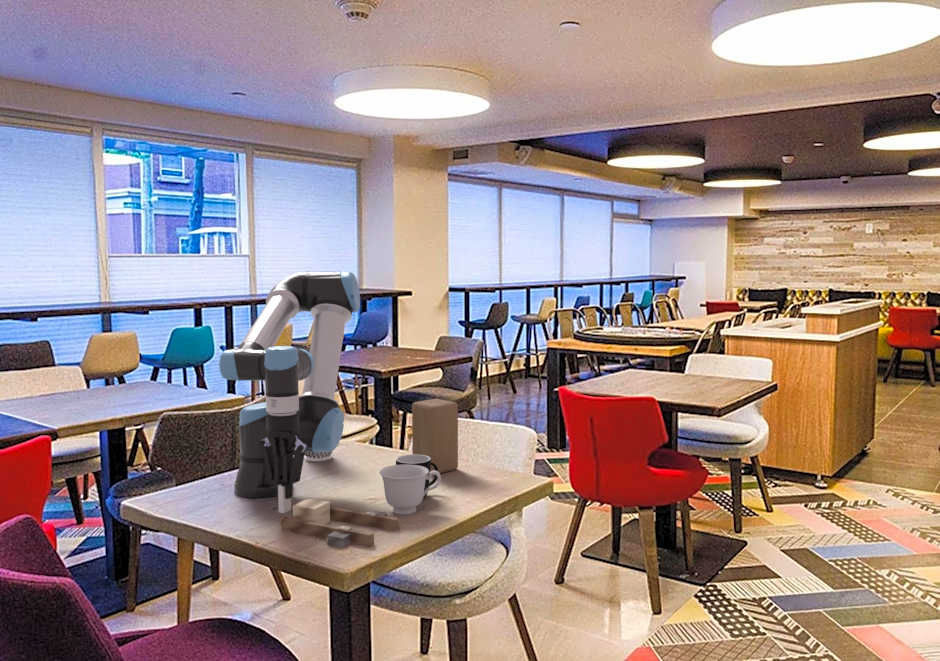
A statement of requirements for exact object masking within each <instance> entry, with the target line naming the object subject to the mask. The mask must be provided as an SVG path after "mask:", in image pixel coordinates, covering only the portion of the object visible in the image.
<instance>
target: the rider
mask: <svg viewBox="0 0 940 661" xmlns="http://www.w3.org/2000/svg"><path fill="white" fill-rule="evenodd" d="M330 506H331V501H328V500H324V499H315V498H312V497H311V498H307V499H304V500H302V501H299V502H297V503H296V504H293V505H292V518H295V519H301V520H306V521H312V522H317V523H323V524H329V523H331V519H330Z"/></svg>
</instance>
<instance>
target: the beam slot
mask: <svg viewBox="0 0 940 661" xmlns="http://www.w3.org/2000/svg"><path fill="white" fill-rule="evenodd" d="M330 520H334V521H339V522H344V523H350V524H351V523H352V524H355V525H356V524H357V525H361V526H367V527H368V526H369V527H371V528H373V527H374V528H379V529H383V530H389V531H398V530H400V518H399V517H395V516H390V515H389V516H388V512H384V511H378V510H372V511H368V512H365V511H361V510H355V509H348V508H343V507H342V508H341V507H336V506H332V505H330ZM280 527H281V528H280V530H282V529H284V530H283V531H287V530H289V531H288V532H292V531H294V532H293V533H297V534H298V533H299V534H303V535H309V536H314V537H320V538H324V539H327V543H326V544H327V545H329V546H332V547H333V546H335V547H339V548H345V547H346V546H348V545H350V544H355V545H361V546H365V547H366V546H367V547H372V546H374V545H375V533H374V532H373V531H372V532H371V531H365V530H360V529H355V528H352V527H351V526H346V525H341V526H338V525H333V524H329V523H327V524H323V523H317V522H312V521H306V520H301V519H295V518H293V517H290V516H284V517H282V518H281V519H280Z"/></svg>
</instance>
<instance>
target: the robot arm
mask: <svg viewBox="0 0 940 661" xmlns="http://www.w3.org/2000/svg"><path fill="white" fill-rule="evenodd" d="M360 306H361V295H360V288H359V284H358V279H357V277H356V275H355V273H353V272H350V271H341V270H338V271H309V270H308V271H305V270H304V271H299V272H296V273H293V274H291V275H288V276H287V277H285V278H284V279H282V280H280V281H279V282H278V283H277V284H276V285H274V286H273V288H271V289H270V291H269V293H268V294H267V296H266V298H265V306H264V307H263V308H262V310H261V312H260V314H259V315H258V316H257V318H256V319H255V322H254V323H253V325H251V328H250V329H249V330H248V332H247V334H245V337H244V338H243V340H242V341H241V343H240V345H238V347H237V349H234V348H231V349H227V350H224V351H222V353H221V354H220V358H219V360H218V361H219V364H218V366H219V367H218V368H219V371H220V375H221V377H222V378H223V379H224V380H229V381H231V380H232V381H237V382H240V381H264V382H265V383H264V384H265V402H264V401H263V402H259V403H258V402H257V403H254V404H251V405H247V406H245V407H242V409H241V410H240V411H239V424H238V429H239V450H240V451H239V454H240V455H239V456H240V464H239V467H238V470H237V475H236V476H235V477H236V478H235V480H234V483H233V484H234V486H233V487H234V494H236V495H238V496H240V497H245V498H255V499H256V498H269V497H275V496H276V497H277V498H278V503H277V504H278V513H281V514H286V513H287V512H289V511H292V498H293V496H294V484H296V483H298V482H300V481H301V476H302V470H303V465H304V460H305V459H304V457H305V452H313V453H321V452H331V451H332V452H333V451H334V450H336V449H337V447H338V446H339V444H340V441H341V440H342V437H343V432H344V427H345V426H344V425H345V424H344V423H345V422H344V421H345V415H344V412H343V410H342V408H340V405H339V402H338V401H337V400H336V399H335V396H336V388H337V381H338V375H339V368H340V361H341V354H342V348H343V341H344V340H343V339H344V335H345V334H344V333H345V327H346V324H347V323H348V322H350V321H351V319H352V315H353V313H357V312H359V310H360V309H361V307H360ZM302 312H310V315H311V316H312V318H314V322H313V328H312V335H311V341H310V345H309V350H306V349H303V348H296V347H295V346H291V345H278V346H277V345H276V343H277V342H278V340H279V338H280V337H281V335H282V334H283V332H284V330H285V328H286V326H287V325H288V324H289V321H290V319H292V318H295V317H296V316H297V315H298V313H302ZM275 345H276V346H275ZM303 380H304V382H303V383H304V384H303V388H302V394H301V395H300V394H299V382H300V381H303Z"/></svg>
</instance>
